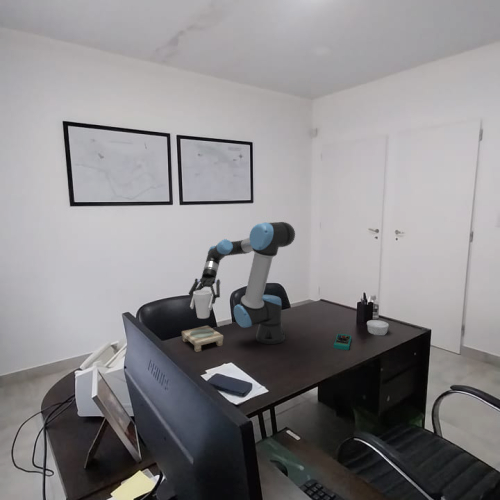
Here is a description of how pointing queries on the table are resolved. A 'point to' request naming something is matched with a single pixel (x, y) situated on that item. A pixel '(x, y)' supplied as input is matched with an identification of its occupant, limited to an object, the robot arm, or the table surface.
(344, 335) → the digital multimeter
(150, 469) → the table surface
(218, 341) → the stand
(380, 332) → the ramekin
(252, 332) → the table surface
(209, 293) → the foam cup
